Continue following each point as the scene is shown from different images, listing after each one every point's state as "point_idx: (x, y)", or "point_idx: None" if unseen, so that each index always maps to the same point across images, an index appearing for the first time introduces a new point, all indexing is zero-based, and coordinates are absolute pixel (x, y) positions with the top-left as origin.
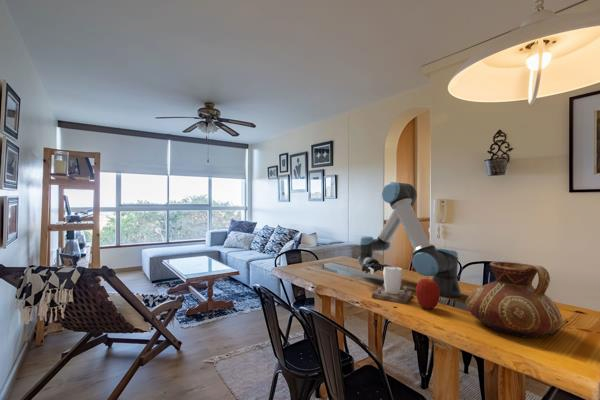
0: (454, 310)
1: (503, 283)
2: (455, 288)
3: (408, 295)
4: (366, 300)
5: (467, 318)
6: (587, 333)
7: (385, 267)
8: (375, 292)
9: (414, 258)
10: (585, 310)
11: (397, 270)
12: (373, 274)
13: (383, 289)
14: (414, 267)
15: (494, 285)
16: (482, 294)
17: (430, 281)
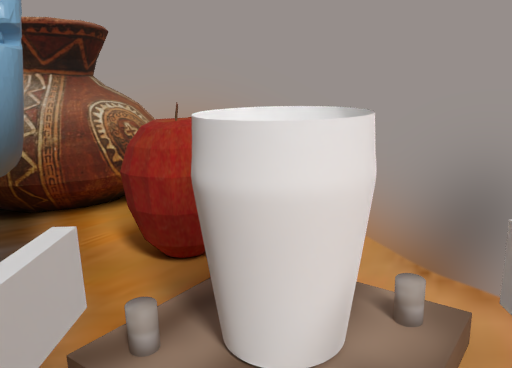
0: (87, 240)
1: (92, 75)
2: None
3: (191, 291)
4: (503, 307)
5: (124, 212)
6: None
7: (340, 129)
8: (442, 331)
9: (21, 11)
10: None
11: (271, 111)
12: (504, 298)
13: None
14: (22, 116)
15: (97, 85)
16: (139, 109)
17: (182, 118)
